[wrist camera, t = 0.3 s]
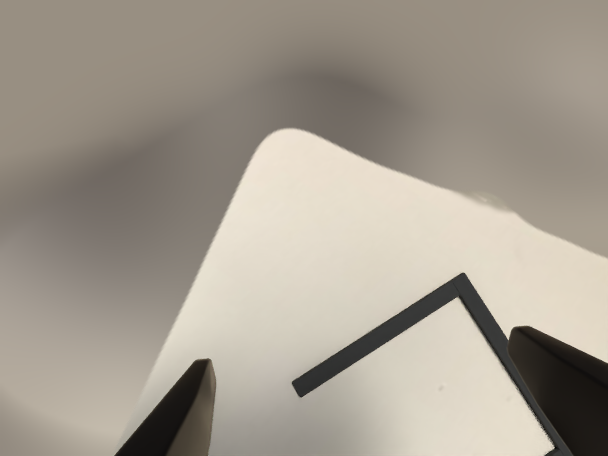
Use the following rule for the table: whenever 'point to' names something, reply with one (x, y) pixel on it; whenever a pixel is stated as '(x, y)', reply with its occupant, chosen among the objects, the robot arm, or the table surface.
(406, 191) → the table surface
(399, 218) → the table surface
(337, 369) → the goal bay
